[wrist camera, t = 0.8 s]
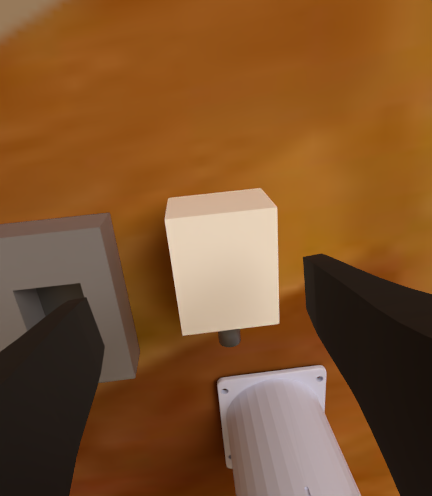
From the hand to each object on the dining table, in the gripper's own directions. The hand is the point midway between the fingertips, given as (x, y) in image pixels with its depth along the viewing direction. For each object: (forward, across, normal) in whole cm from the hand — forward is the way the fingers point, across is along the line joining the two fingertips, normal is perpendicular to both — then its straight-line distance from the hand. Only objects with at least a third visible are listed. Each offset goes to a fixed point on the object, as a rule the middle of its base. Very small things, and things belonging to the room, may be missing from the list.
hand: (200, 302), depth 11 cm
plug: (+10, -1, +3) cm, 10 cm away
